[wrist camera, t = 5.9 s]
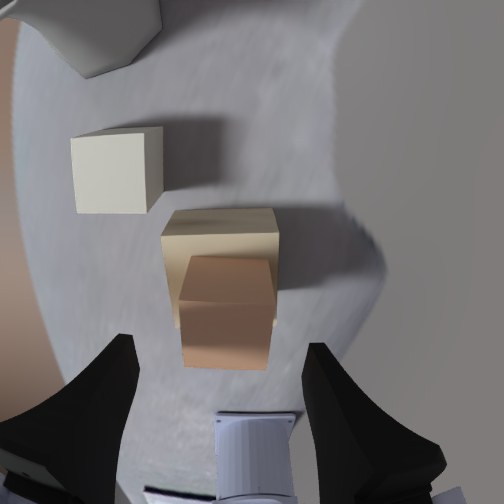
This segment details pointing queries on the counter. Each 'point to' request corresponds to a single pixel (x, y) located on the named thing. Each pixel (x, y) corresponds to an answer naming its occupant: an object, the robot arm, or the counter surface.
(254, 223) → the beech block
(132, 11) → the flask
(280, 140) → the counter surface
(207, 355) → the brown cube
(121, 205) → the cream cube
